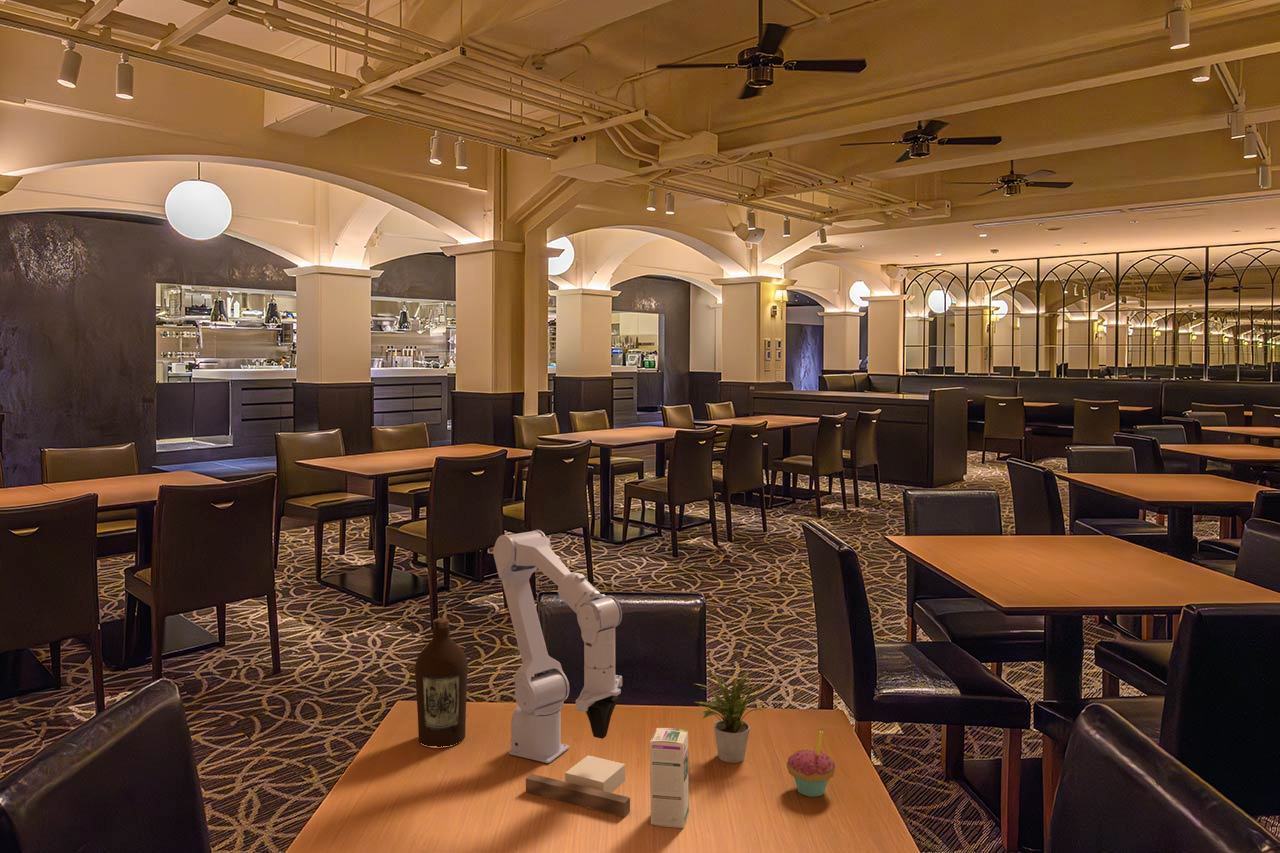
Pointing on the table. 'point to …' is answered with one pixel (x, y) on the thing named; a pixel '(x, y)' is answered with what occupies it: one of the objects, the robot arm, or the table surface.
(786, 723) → the table surface
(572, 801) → the stop rail
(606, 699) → the robot arm
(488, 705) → the table surface
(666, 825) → the syrup box
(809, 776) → the cupcake
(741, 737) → the house plant
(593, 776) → the wooden block
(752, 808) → the table surface
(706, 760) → the table surface
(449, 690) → the olive oil
